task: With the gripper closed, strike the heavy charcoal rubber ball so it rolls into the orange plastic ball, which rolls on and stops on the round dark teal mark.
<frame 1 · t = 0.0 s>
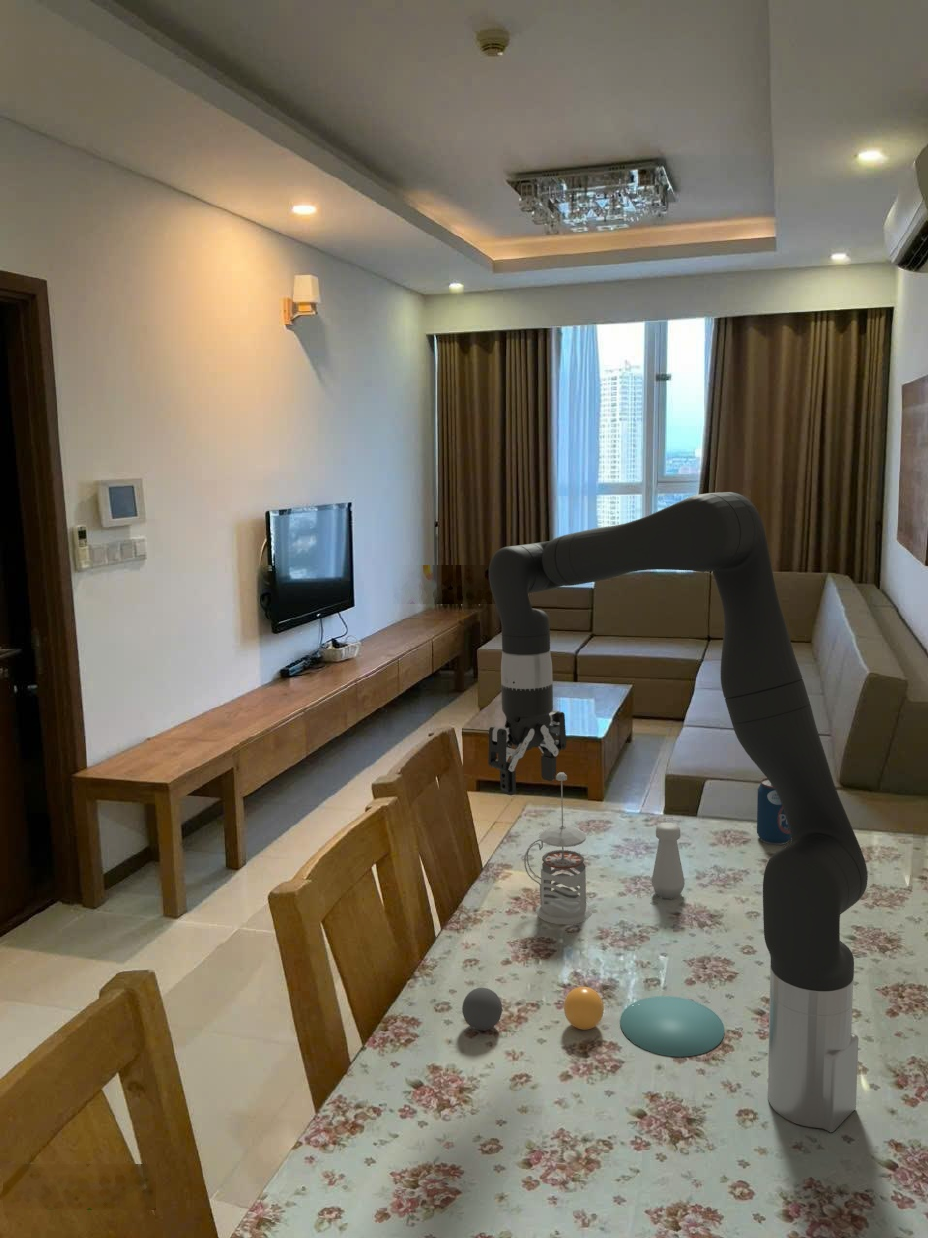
hand: (529, 786, 144), 29 cm above the table, tool pointing down, fingers open, 8 cm apart
soda can: (774, 840, 195), on the table
teal mark: (671, 1025, 133), on the table
orange ball: (583, 1008, 133), on the table
salt shaker: (668, 895, 172), on the table
french press: (558, 911, 167), on the table
charcoal ball: (482, 1009, 133), on the table
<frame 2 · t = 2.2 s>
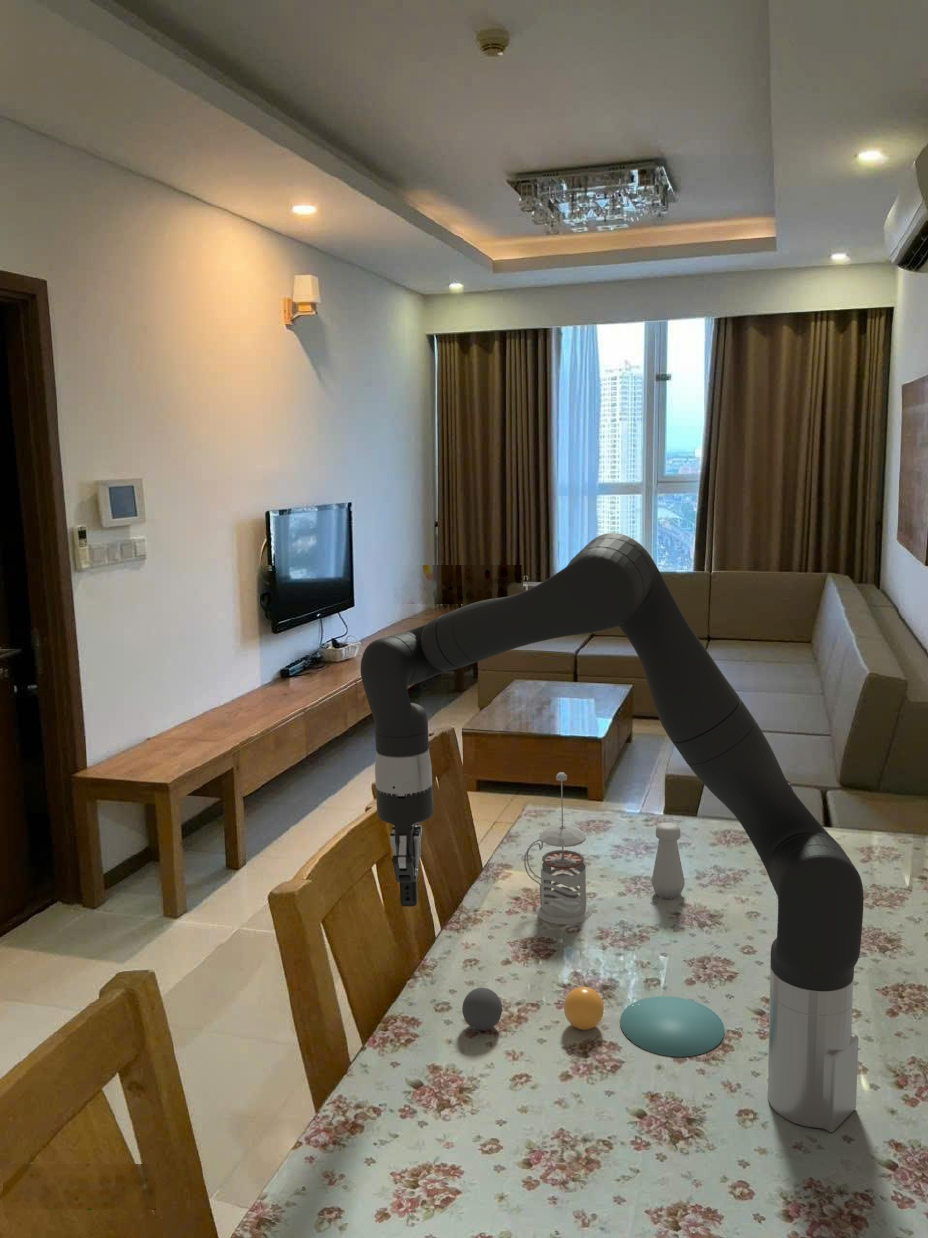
hand: (409, 904, 131), 18 cm above the table, tool pointing down, fingers closed
nothing on the table moved.
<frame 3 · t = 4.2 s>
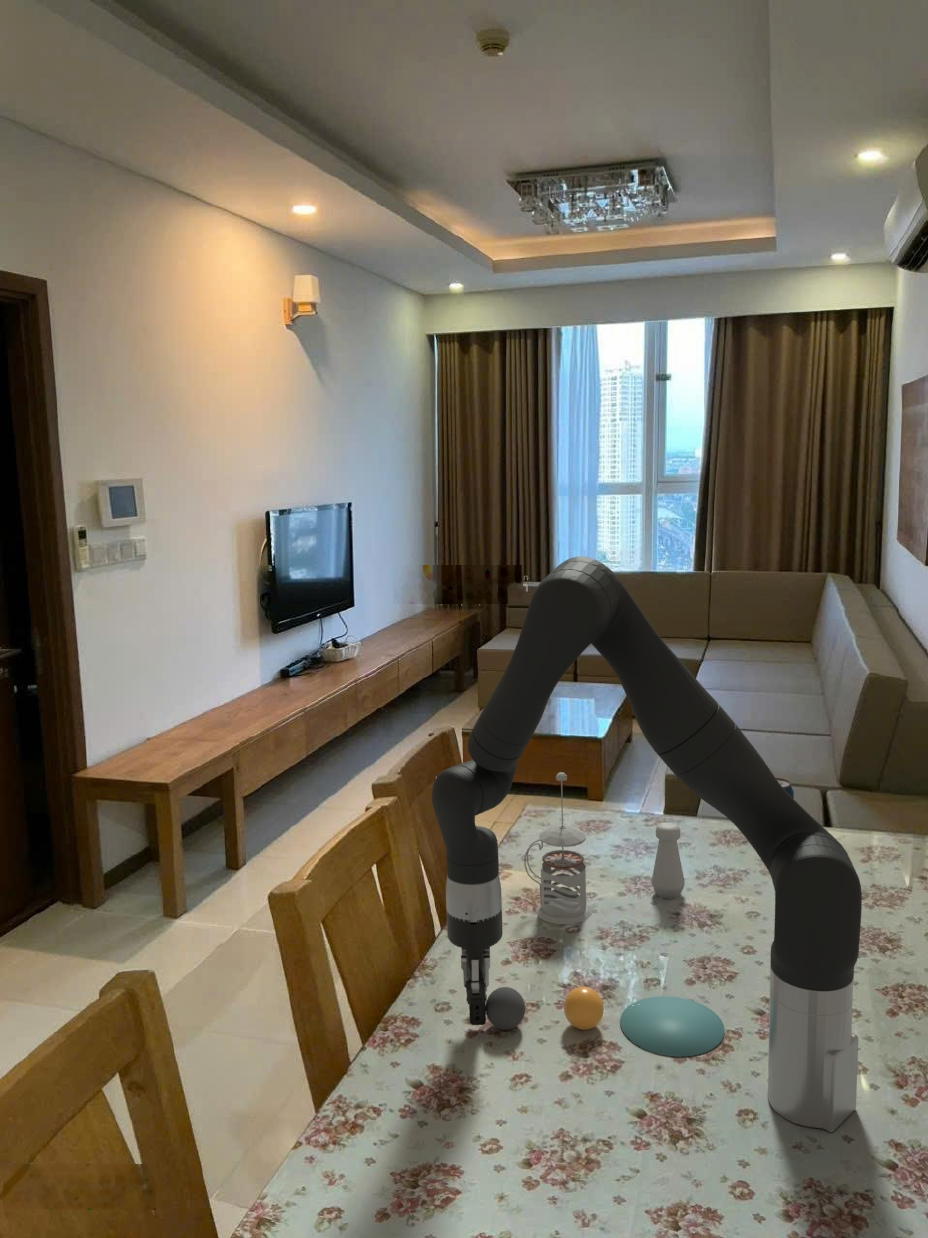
hand: (478, 1022, 133), 1 cm above the table, tool pointing down, fingers closed
charcoal ball: (505, 1008, 133), on the table, touching gripper
everything else where it was.
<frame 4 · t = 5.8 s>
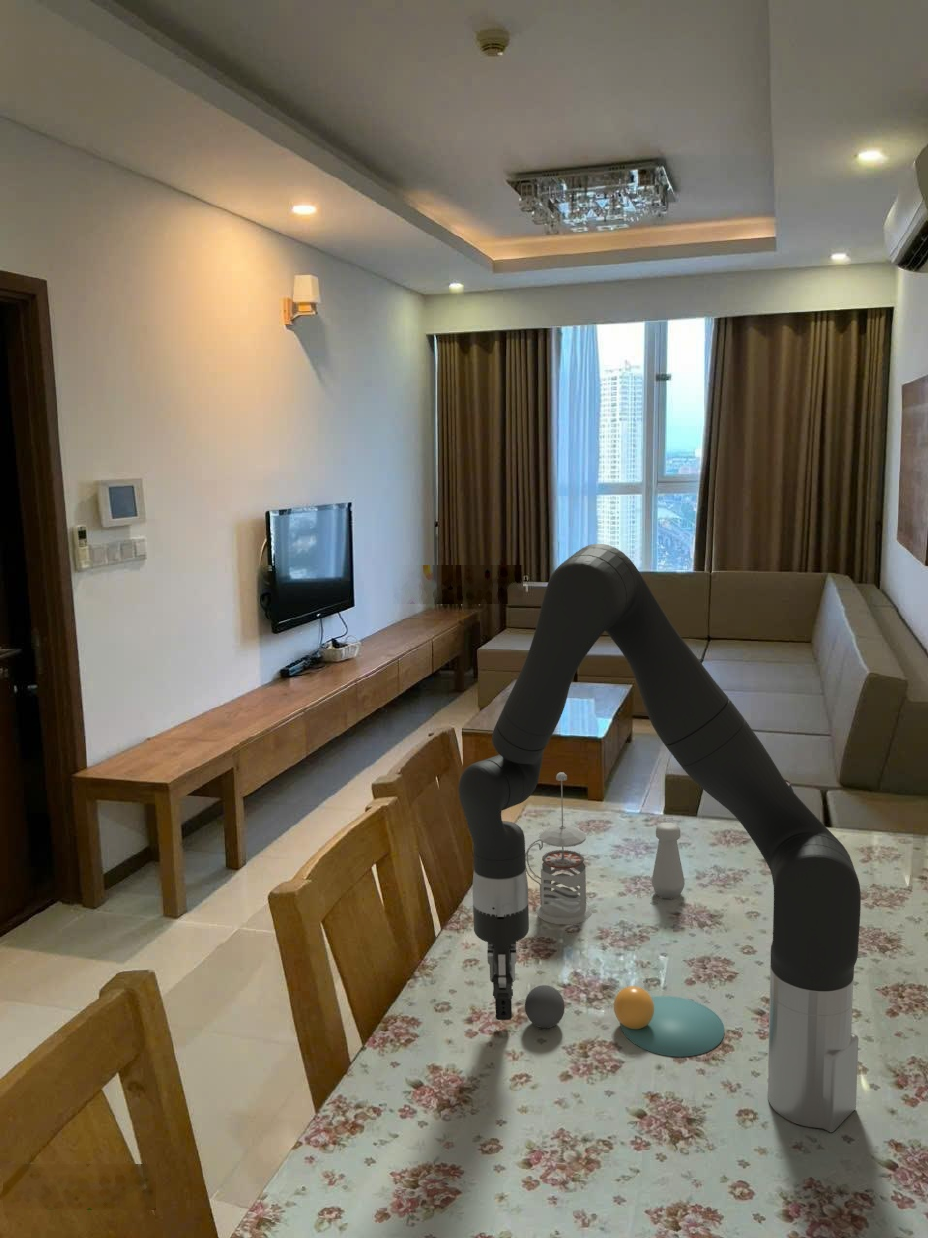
hand: (503, 1017, 133), 2 cm above the table, tool pointing down, fingers closed
orange ball: (633, 1007, 132), on the table
charcoal ball: (544, 1006, 133), on the table
everything else where it was.
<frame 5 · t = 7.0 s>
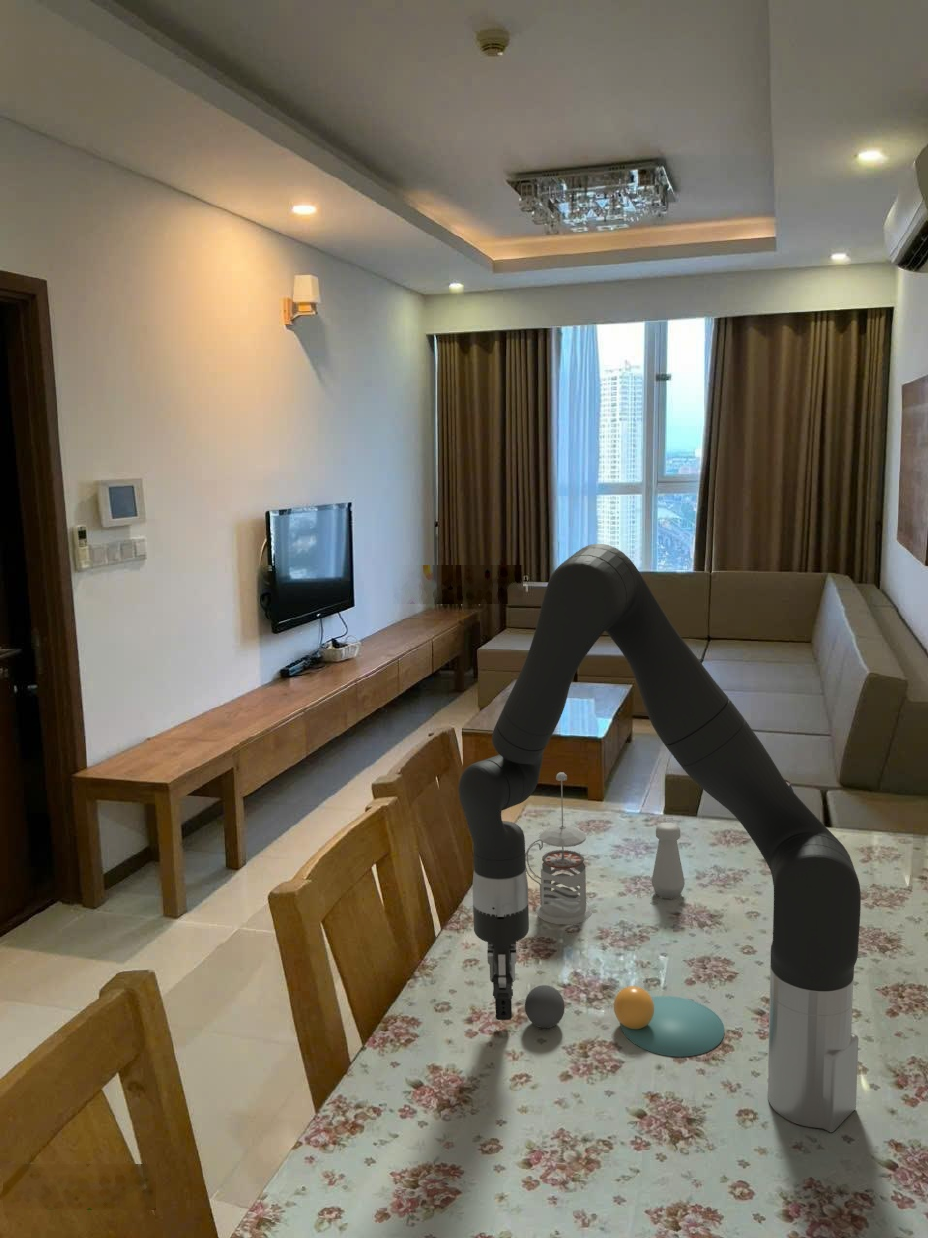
hand: (503, 1017, 133), 2 cm above the table, tool pointing down, fingers closed
nothing on the table moved.
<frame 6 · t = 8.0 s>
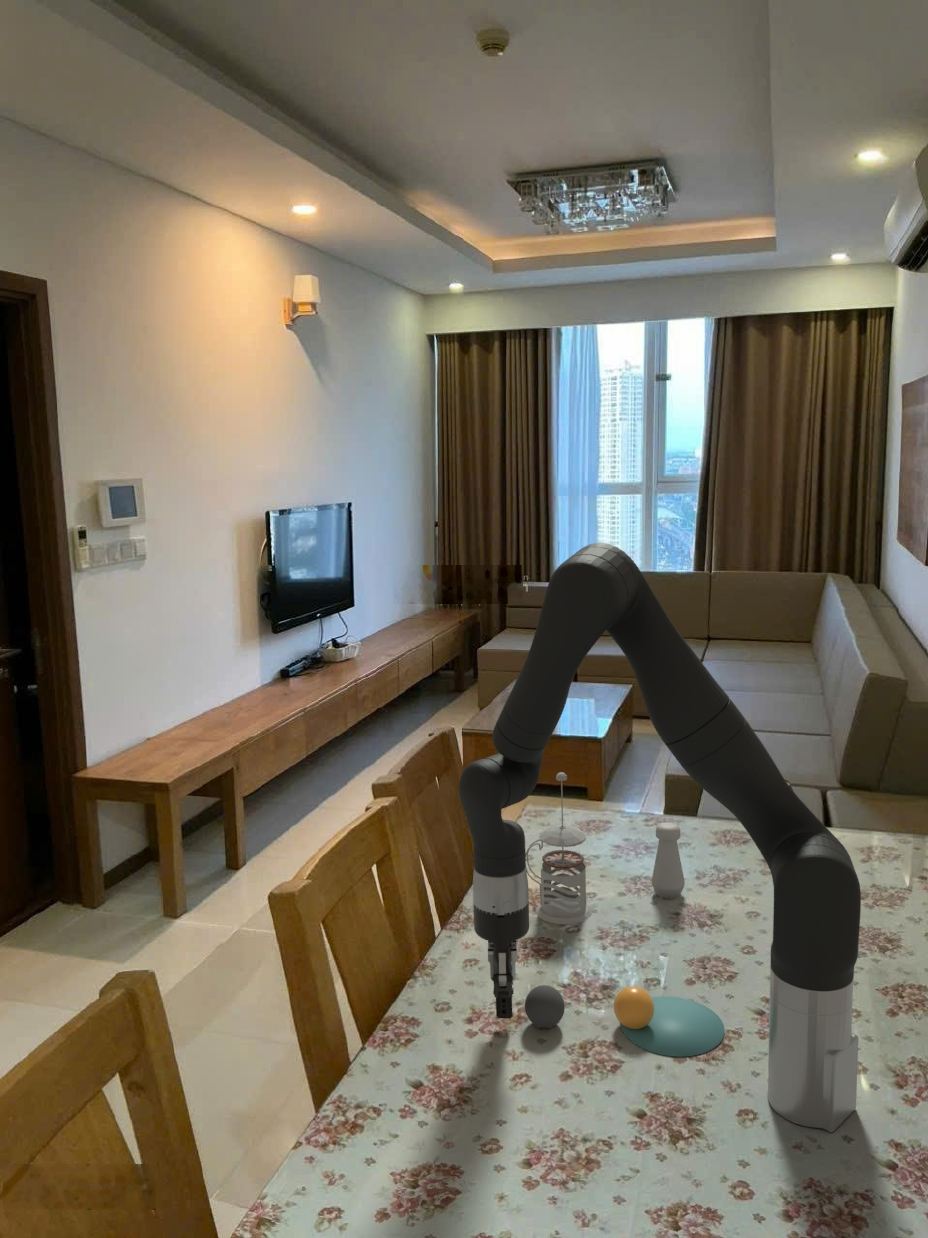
hand: (504, 1015, 133), 2 cm above the table, tool pointing down, fingers closed
nothing on the table moved.
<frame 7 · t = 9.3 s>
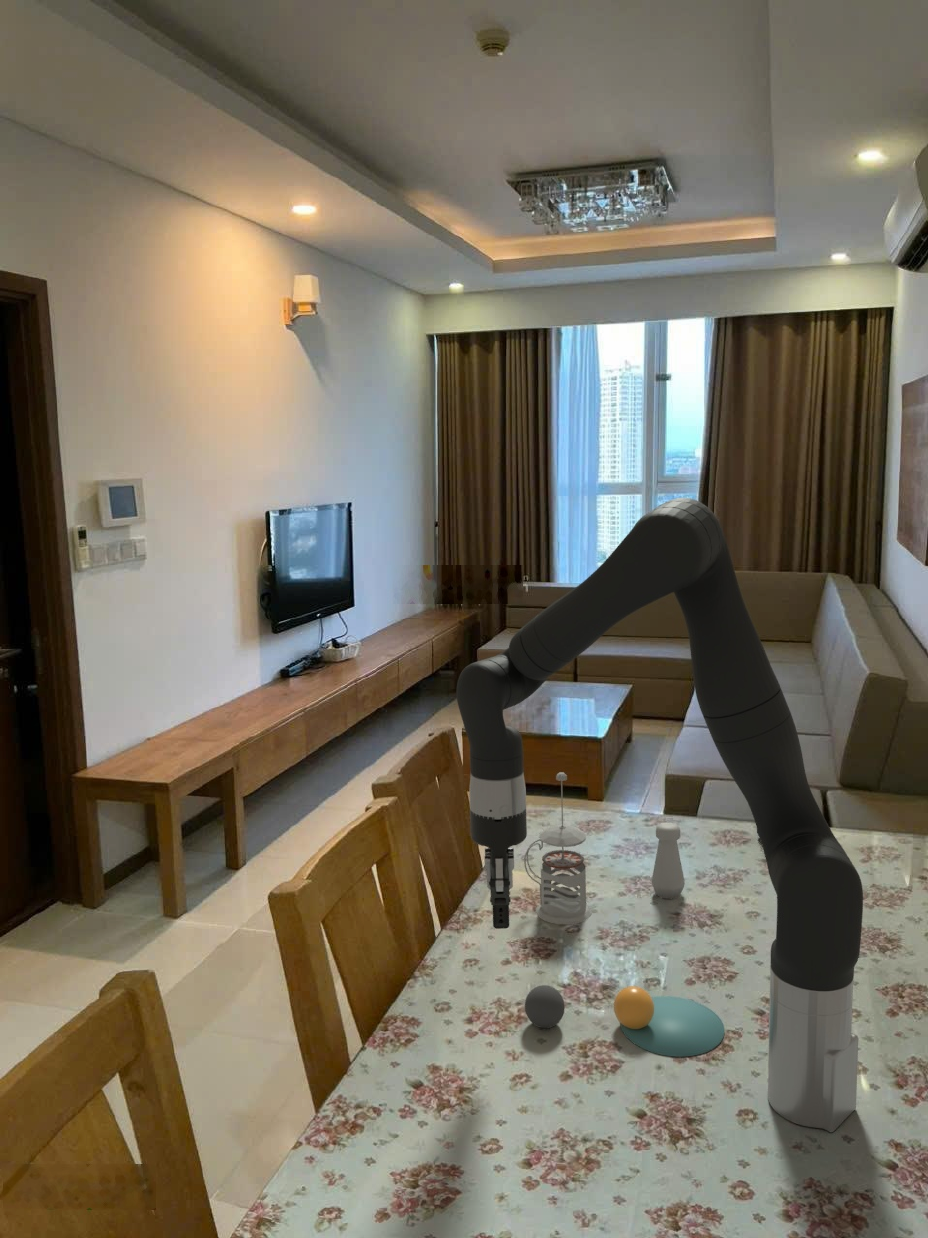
hand: (501, 926, 131), 15 cm above the table, tool pointing down, fingers closed
nothing on the table moved.
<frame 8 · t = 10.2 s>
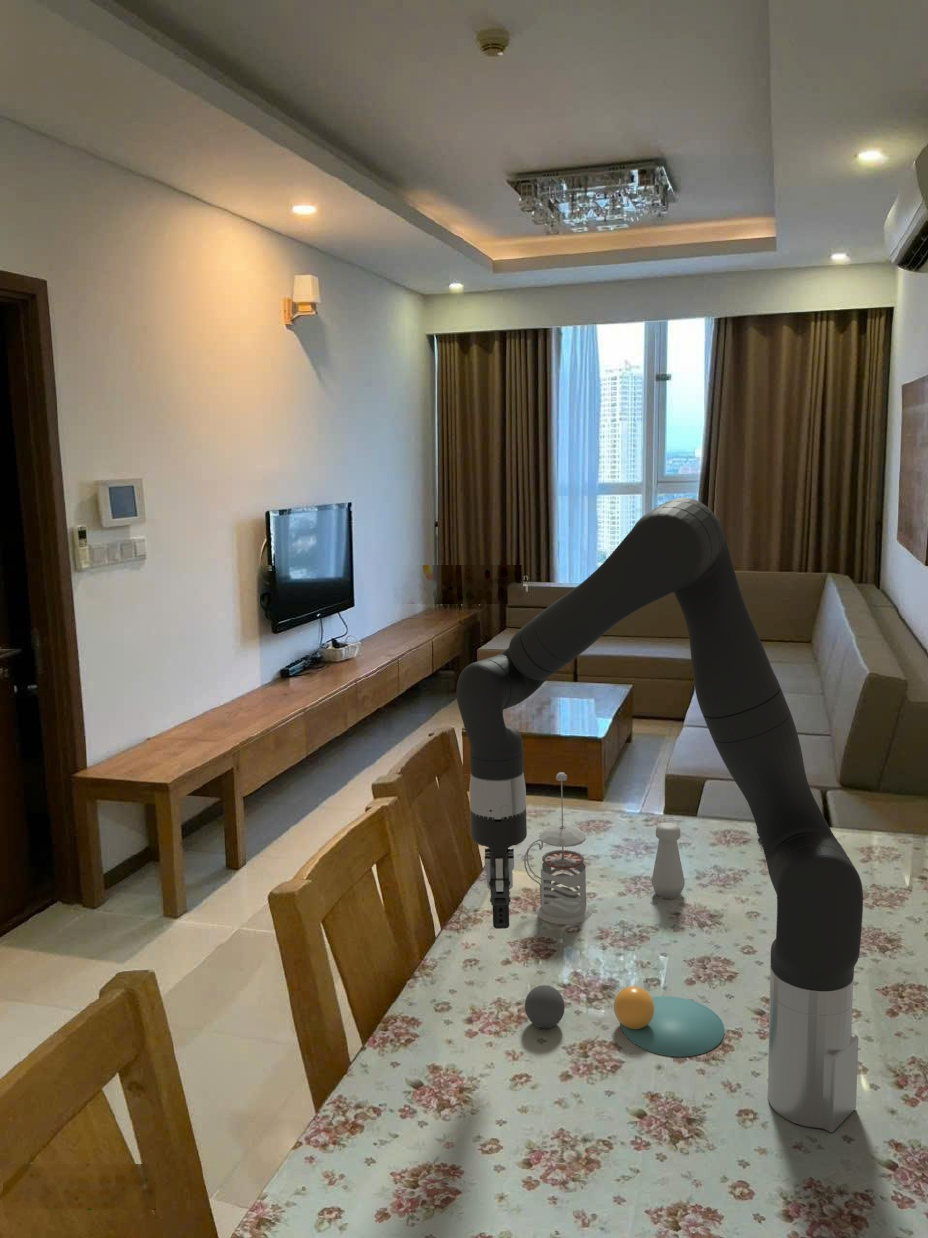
hand: (501, 926, 131), 15 cm above the table, tool pointing down, fingers closed
nothing on the table moved.
at the end: orange ball 5.2 cm from the teal mark (horizontally); orange ball never touched the robot; charcoal ball first touched orange ball at 4.5 s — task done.
